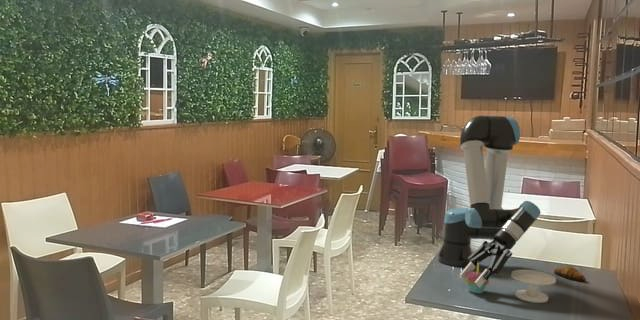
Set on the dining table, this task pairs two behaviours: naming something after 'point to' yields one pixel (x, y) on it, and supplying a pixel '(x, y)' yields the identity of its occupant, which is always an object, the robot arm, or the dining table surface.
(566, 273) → the croissant
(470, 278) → the cupcake
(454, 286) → the dining table surface
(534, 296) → the cake stand
